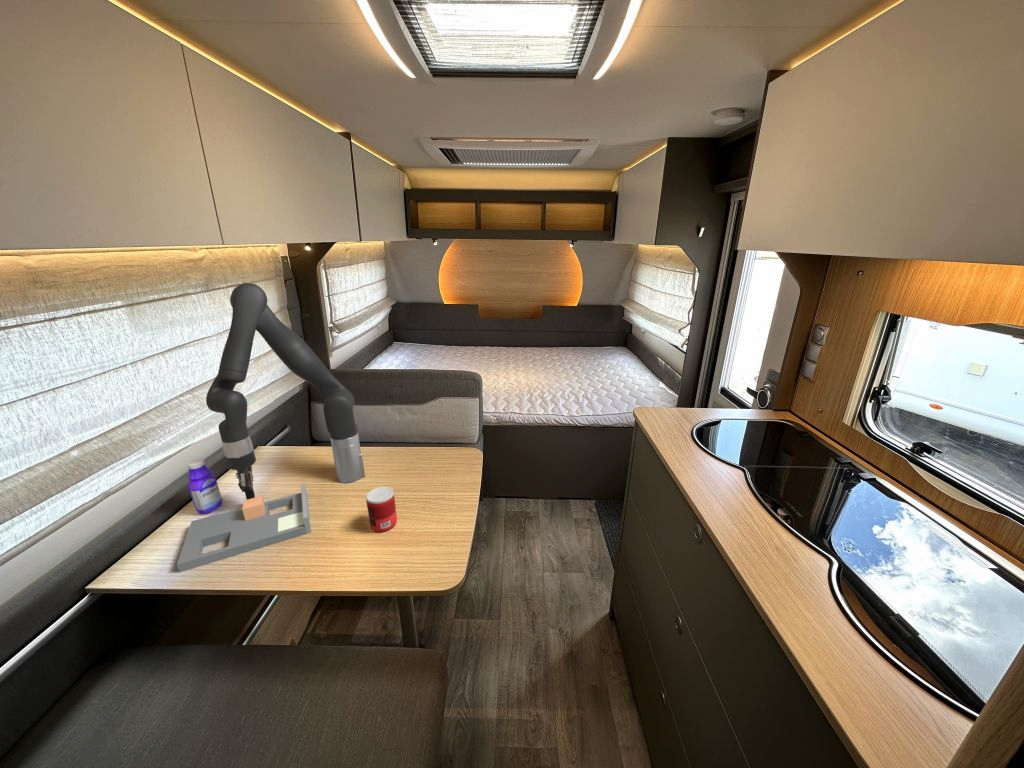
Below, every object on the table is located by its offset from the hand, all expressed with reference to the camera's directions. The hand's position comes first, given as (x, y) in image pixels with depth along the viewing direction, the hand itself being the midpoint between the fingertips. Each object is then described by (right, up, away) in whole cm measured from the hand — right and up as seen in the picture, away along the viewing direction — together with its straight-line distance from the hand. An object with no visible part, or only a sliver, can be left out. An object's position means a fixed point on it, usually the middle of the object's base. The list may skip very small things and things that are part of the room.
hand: (251, 498), depth 129 cm
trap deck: (+6, -7, -10) cm, 13 cm away
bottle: (-14, -4, +1) cm, 14 cm away
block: (+5, -3, -6) cm, 8 cm away
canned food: (+46, -6, -7) cm, 47 cm away
